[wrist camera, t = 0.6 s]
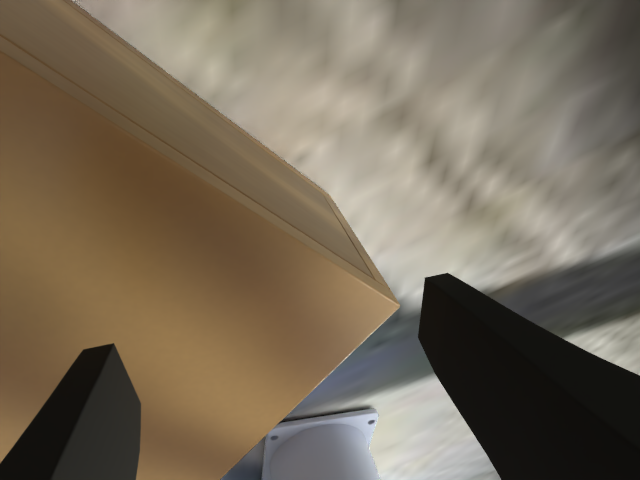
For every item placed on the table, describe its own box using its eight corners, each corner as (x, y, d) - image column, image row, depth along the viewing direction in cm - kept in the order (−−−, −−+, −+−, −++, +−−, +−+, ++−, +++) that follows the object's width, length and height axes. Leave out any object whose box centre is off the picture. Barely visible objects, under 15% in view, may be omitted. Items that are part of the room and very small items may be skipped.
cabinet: (149, 398, 23) (132, 564, 17) (-170, 306, 16) (-418, 530, 10) (330, 195, 19) (401, 306, 13) (15, -43, 12) (-188, -68, 6)
